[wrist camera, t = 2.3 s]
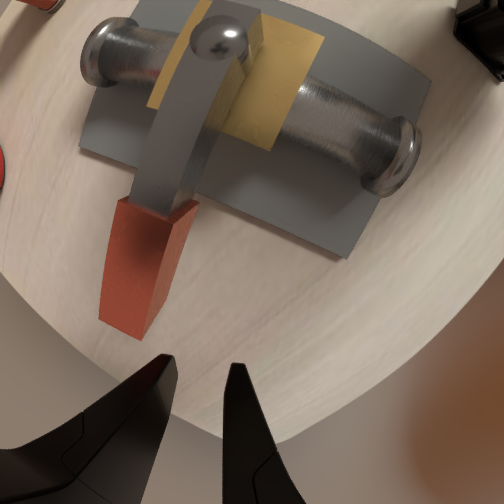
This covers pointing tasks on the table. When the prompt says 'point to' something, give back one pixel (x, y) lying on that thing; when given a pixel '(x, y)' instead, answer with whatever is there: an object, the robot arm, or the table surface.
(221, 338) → the table surface
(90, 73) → the valve body
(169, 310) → the table surface
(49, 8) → the lighter
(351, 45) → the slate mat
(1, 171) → the beer can
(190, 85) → the lever
